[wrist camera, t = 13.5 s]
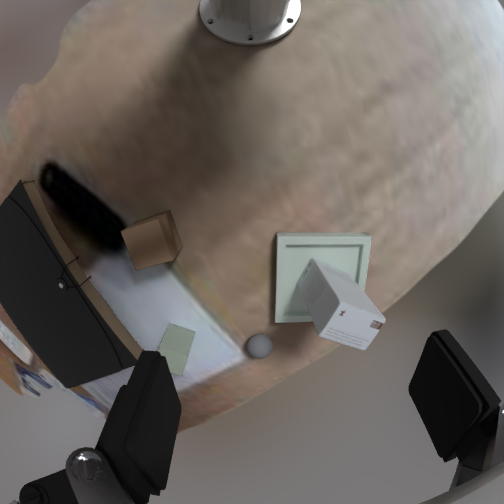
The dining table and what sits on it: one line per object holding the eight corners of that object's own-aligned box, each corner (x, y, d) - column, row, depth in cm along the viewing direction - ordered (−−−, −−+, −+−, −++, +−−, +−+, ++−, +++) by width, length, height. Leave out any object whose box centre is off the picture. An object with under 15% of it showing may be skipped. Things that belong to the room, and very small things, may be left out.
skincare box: (296, 284, 37) (313, 339, 26) (312, 254, 36) (338, 300, 24) (335, 299, 38) (363, 355, 26) (351, 271, 37) (388, 320, 25)
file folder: (140, 364, 39) (62, 390, 43) (148, 348, 43) (71, 378, 47) (19, 179, 29) (-31, 254, 34) (36, 175, 33) (-18, 247, 38)
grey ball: (247, 328, 41) (246, 343, 37) (272, 328, 41) (274, 343, 37) (247, 348, 42) (247, 363, 38) (271, 348, 42) (273, 363, 38)
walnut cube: (136, 221, 35) (120, 231, 31) (170, 210, 35) (157, 218, 30) (149, 256, 37) (136, 270, 32) (182, 246, 37) (172, 260, 32)
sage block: (169, 322, 40) (159, 347, 35) (195, 331, 41) (188, 356, 35) (165, 342, 42) (154, 367, 36) (189, 350, 42) (182, 376, 36)
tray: (276, 232, 36) (277, 236, 34) (366, 232, 36) (371, 236, 34) (274, 315, 40) (275, 322, 38) (355, 312, 40) (359, 318, 38)
